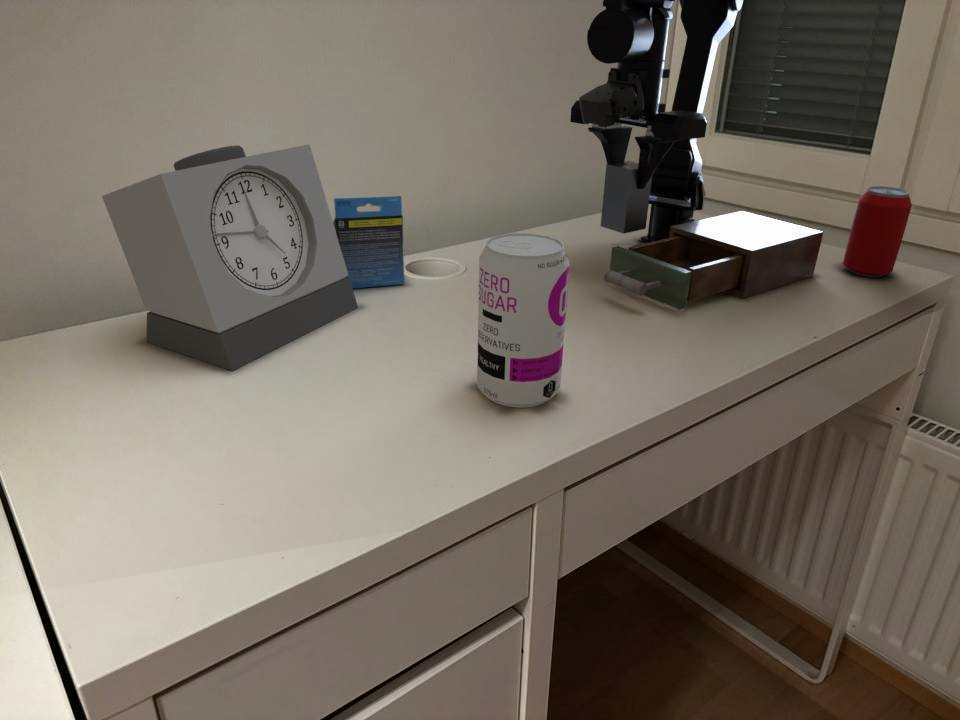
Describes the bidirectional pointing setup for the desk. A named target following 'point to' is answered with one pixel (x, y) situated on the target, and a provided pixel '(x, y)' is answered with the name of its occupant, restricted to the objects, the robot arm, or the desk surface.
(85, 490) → the desk surface
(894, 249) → the beverage can
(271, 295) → the alarm clock
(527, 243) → the supplement can
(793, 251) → the cabinet
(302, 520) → the desk surface
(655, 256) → the rack drawer
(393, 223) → the label tape box
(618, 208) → the steel block
